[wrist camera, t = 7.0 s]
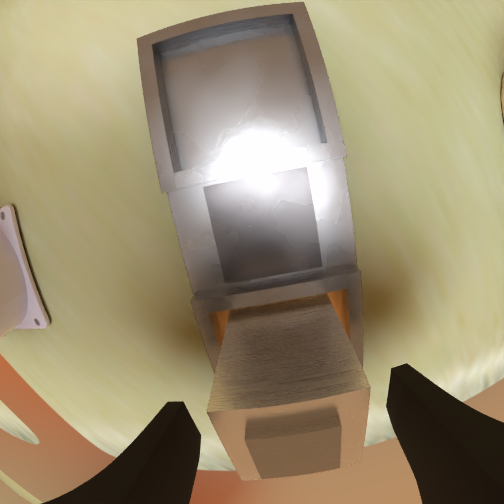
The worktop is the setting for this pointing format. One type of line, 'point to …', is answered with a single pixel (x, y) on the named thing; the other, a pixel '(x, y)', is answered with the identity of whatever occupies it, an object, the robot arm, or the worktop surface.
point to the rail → (252, 164)
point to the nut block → (289, 391)
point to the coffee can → (502, 95)
